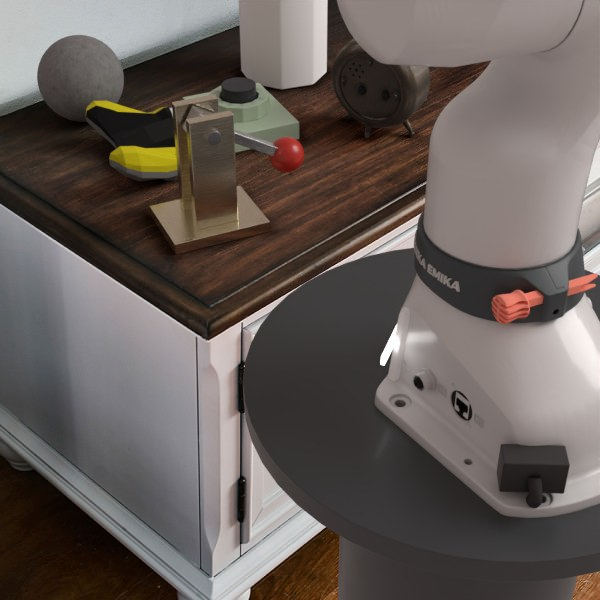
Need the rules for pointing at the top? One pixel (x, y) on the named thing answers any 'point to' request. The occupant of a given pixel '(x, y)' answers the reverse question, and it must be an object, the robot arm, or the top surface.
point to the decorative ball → (79, 75)
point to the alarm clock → (378, 88)
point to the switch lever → (265, 146)
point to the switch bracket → (206, 183)
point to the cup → (283, 41)
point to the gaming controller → (137, 140)
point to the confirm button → (238, 90)
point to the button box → (258, 116)
